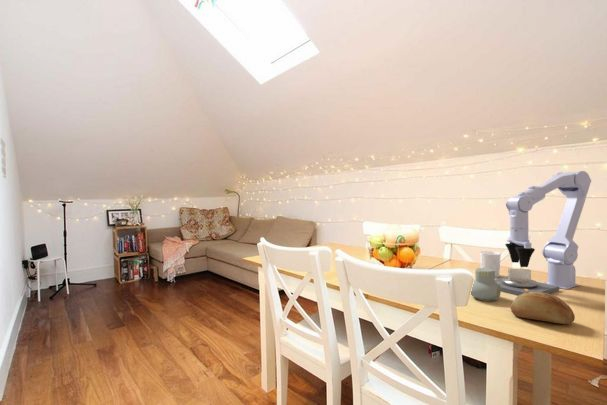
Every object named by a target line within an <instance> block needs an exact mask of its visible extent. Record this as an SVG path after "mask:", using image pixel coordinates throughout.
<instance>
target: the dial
mask: <svg viewBox="0 0 607 405" xmlns="http://www.w3.org/2000/svg"><path fill="white" fill-rule="evenodd" d="M507 276H508V277H507ZM507 276H505V277H506V278H503V277H502V278H503V279H502V282H503V284H505V285H508V286H512V287H518V288H535V287H537V282H538V281H536V280H534V279H532V270H531V269H530V268H513V267H512V268H508V269H507Z"/></svg>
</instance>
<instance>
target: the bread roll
mask: <svg viewBox="0 0 607 405" xmlns="http://www.w3.org/2000/svg"><path fill="white" fill-rule="evenodd" d="M510 311H511V313H512V314H513V315H514V316H515V317H518V318H522V319H528V320H535V321H542V322H548V323H555V324H559V325H560V324H561V325H569V324H572V323H573V322H574V321H575V319H576V317H575V313H574V311H573V309H572V308H571V307H570V306H569V305H568V303H566V302H565V301H564V300H563V299H561V298H560V297H558V296H557V295H554V294H552V293H550V294H548V293H543V292H527V293H523V294H521V295H519V296H518V295H516V297H515V298H514V300H513V301H512V303H511V305H510Z"/></svg>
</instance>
